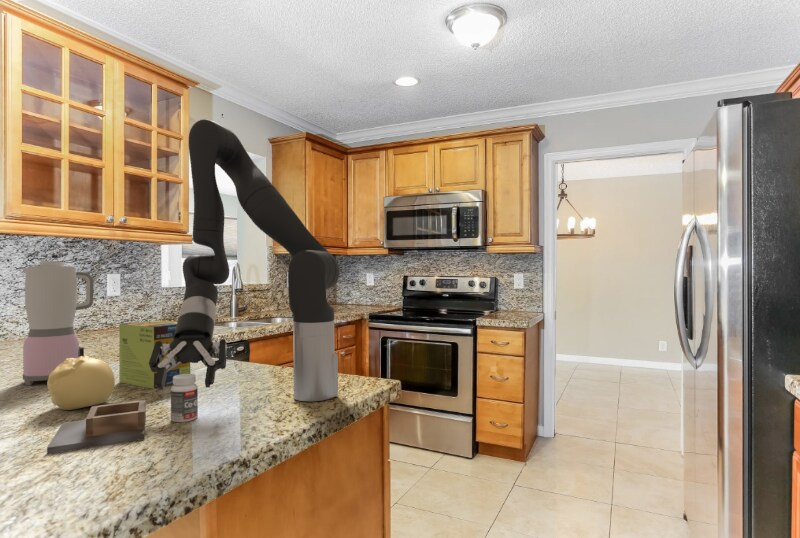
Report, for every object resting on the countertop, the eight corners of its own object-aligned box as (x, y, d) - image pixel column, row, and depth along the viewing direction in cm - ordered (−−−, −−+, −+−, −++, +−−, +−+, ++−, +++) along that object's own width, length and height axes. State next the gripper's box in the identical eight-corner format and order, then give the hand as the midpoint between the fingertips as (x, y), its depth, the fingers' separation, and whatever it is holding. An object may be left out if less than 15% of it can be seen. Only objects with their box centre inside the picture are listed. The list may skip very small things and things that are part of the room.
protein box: (154, 389, 114) (153, 326, 114) (118, 382, 122) (118, 323, 122) (191, 380, 123) (191, 322, 124) (156, 375, 131) (156, 319, 131)
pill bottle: (187, 423, 88) (187, 378, 88) (165, 422, 89) (165, 378, 89) (202, 415, 92) (202, 373, 92) (181, 414, 93) (181, 372, 93)
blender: (19, 388, 117) (19, 260, 117) (24, 379, 127) (24, 262, 127) (94, 379, 126) (93, 261, 126) (93, 371, 136) (93, 262, 136)
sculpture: (56, 402, 103) (56, 354, 103) (119, 396, 108) (118, 350, 108) (38, 417, 93) (38, 362, 93) (108, 410, 97) (108, 358, 97)
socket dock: (145, 417, 92) (145, 396, 92) (144, 439, 79) (144, 415, 79) (62, 428, 86) (62, 406, 86) (47, 454, 73) (47, 428, 73)
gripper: (157, 311, 98) (139, 377, 87) (228, 310, 101) (220, 374, 90) (164, 333, 103) (148, 398, 92) (232, 331, 106) (224, 394, 95)
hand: (184, 386), depth 91 cm, fingers open, 8 cm apart
